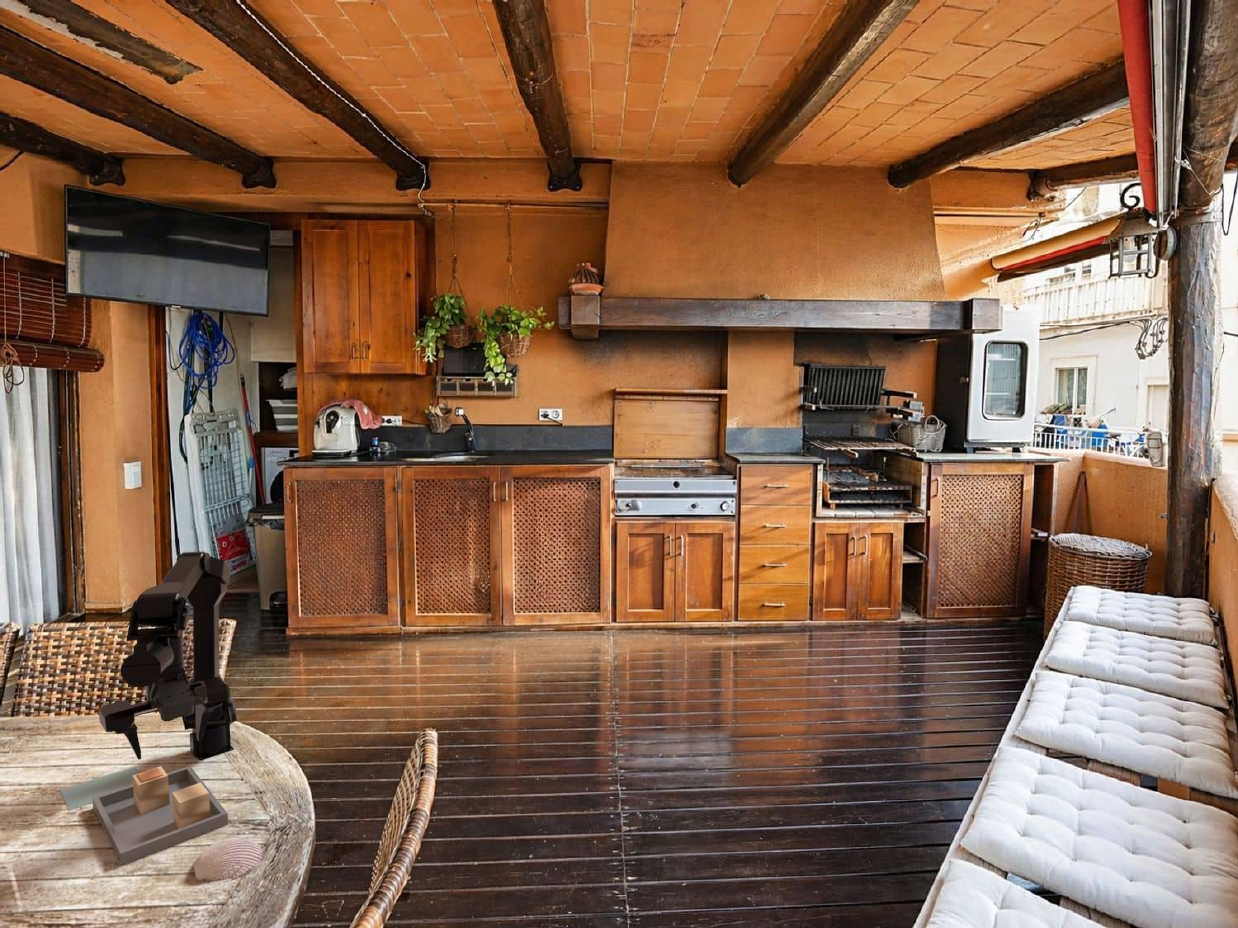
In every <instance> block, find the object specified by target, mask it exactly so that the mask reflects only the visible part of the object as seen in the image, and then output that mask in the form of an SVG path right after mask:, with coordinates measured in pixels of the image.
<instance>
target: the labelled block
mask: <svg viewBox="0 0 1238 928" xmlns="http://www.w3.org/2000/svg"><path fill="white" fill-rule="evenodd" d="M132 776H133V790H134V804H135V806H136V807H137V809H138V811H139V813H140V814H144V813H147V812H150V811H153V810H155V809H158V808H161V807H164V806H167V805H170V800H169V784H168V775H167V771H165V770H164V769H163V767H162V765H160V766H158V767H154V768H151V769H147V770H145V771H142V772H139V773H138V774H135V775H132Z"/></svg>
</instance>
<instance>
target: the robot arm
mask: <svg viewBox="0 0 1238 928" xmlns="http://www.w3.org/2000/svg"><path fill="white" fill-rule="evenodd" d="M230 580H231V570H230V567H229V565H228V564H227V562H226V561H225V560H223V559H220V558H217V557H215V556H211V555H210V553H208V552H205V551H184V552H181V553H179V554H177V556H176V562H175V563H174V565H173V566H172V567H171V569H170V570H169V572H168V573H167V574H166V575H165V577H164V578H163V580H162V581H160V583H159V584H158V585H155V586H152V587H148V588H146V589H145V590H144V591H143V592H142V593H140V594H139V595H138V596H137V599H136V600H134V602H133V604H132V609H131V613H130V618H129V623H128V629H127V634H126V641H127V642H128V641H131V642H132V641H136V643H135V644H134V645H133V647H132V648H133V652H131V653H130V654H129V655H128V656H127V657H126V658H125V659H124V661H123V662H122V664H121V667H120V675H121V678H122V680H123V681H124V682H125V683H126V684H128V685H129V686H132V687H134V688H146V689H145V690H146V691H145V696H146V701H144V702H139V703H137V704H132V705H131V704H130V702H129V701H128V700H127V699H124V700H120V701H116V702H115V701H114V702H111V703H107V704H104V705H102V706H101V708H100V709H99V710H98V716H99V720H98V721H99V723H100V725H101V726H102V728H103V729H104V731H105V732H106V733H112V732H114V733H115V734H116V735H120V734H123V735H124V736H125V738H126V739H127V741H128V742H129V745H130V746H131V749H132V751H133V753H134V754H135V756H136V758H137V760H138V761H140V760H142V749H141V745H140V740H139V736H138V726H137V724H135V720H136V719H135V717H140V716H141V715H142V716H143V715H146V714H149V713H153V712H156V711H158V714H159V715H160V719H161V720H162V721H163V722H173V720H175V719H179V718H182V724H183V726H184V727H183V729H184V730H185V731H186V730H190V729H191V730H192V732H190V733H189V748H190V750H189V751H190V753H191V754H192V756H193V757H195V758H197V759H198V760H199V761H204V760H207V759H209V758H213V757H216V756H219V755H222V754H225V753H228V752H233V750H235V748H234V747H233V746H232V742H231V724H233V723H234V722H237V721H238V715H237V714H238V713H237V712H238V711H237V704H236V703H235V701H234V700H233V698H232V696H231V688H230V685H229V683H227V682H226V681H225V680H224V679H223V677H222V676H221V675H220V623H219V621H220V620H219V619H220V614H219V612H220V611H219V610H220V609H219V608H220V607H219V605H220V603H221V600H222V599H223V598H224V596H225V595H226V593H227V591H228V585H229V584H230ZM191 608H192V628H193V629H192V630H193V631H192V632H193V633H192V639H193V640H192V644H193V645H192V646H193V650H192V652H193V653H192V657H193V660H192V661H193V680H192V682H189V681H188V678H187V673H186V672H187V671H186V669H185V660H184V643H183V641H184V640H183V633H184V631H186V630H187V627H188V623H189V618H190V613H191ZM139 627H140V628H139ZM147 627H148V628H147Z"/></svg>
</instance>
